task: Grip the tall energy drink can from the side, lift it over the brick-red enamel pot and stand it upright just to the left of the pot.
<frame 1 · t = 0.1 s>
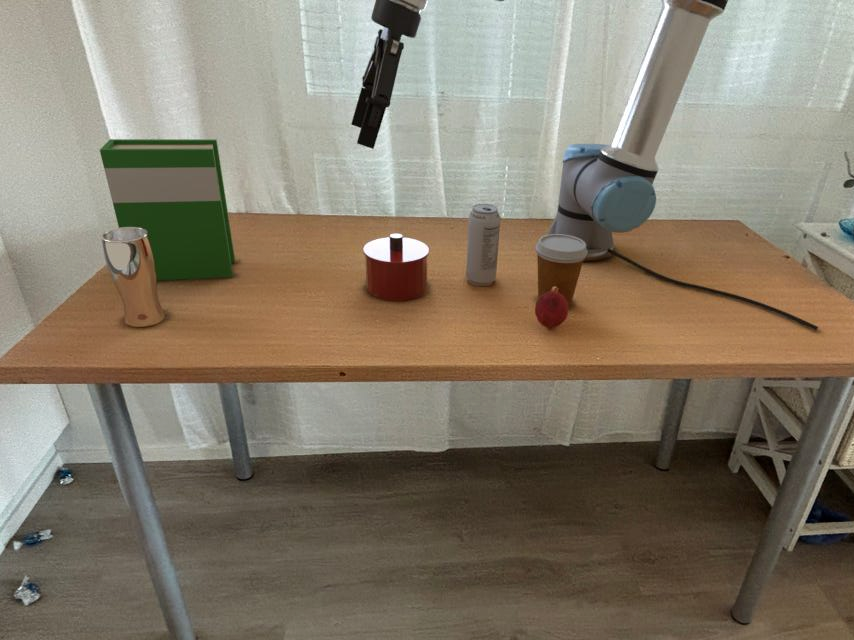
hand: (361, 136, 110), 28 cm above the table, tool tilted 20°, fingers open, 13 cm apart
disposable coffee cup: (554, 302, 123), on the table
energy drink can: (480, 281, 129), on the table
hardback book: (186, 272, 125), on the table
onion: (549, 329, 114), on the table
beer glass: (145, 319, 108), on the table
pot: (396, 287, 124), on the table
pot lid: (396, 251, 120), point 7 cm above the table, touching pot
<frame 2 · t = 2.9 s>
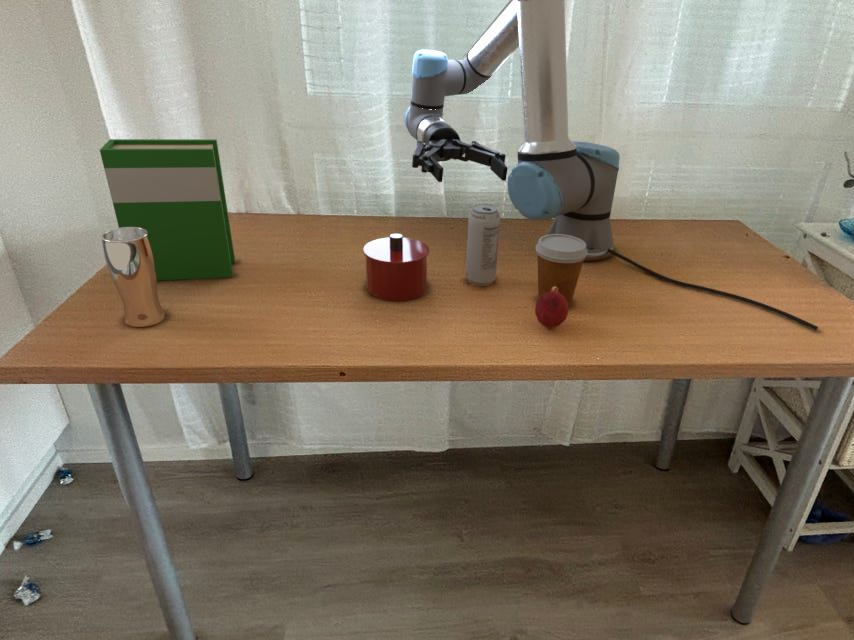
hand: (473, 174, 126), 19 cm above the table, tool horizontal, fingers open, 13 cm apart
nothing on the table moved.
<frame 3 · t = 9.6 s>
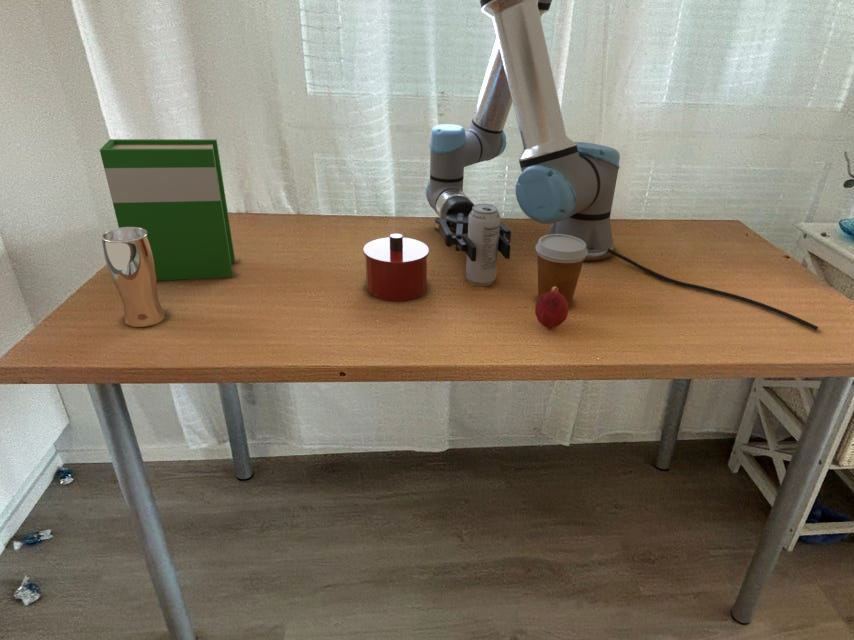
hand: (491, 253, 120), 8 cm above the table, tool horizontal, fingers closed on energy drink can, 6 cm apart
energy drink can: (480, 281, 129), on the table, touching gripper
everything else where it was.
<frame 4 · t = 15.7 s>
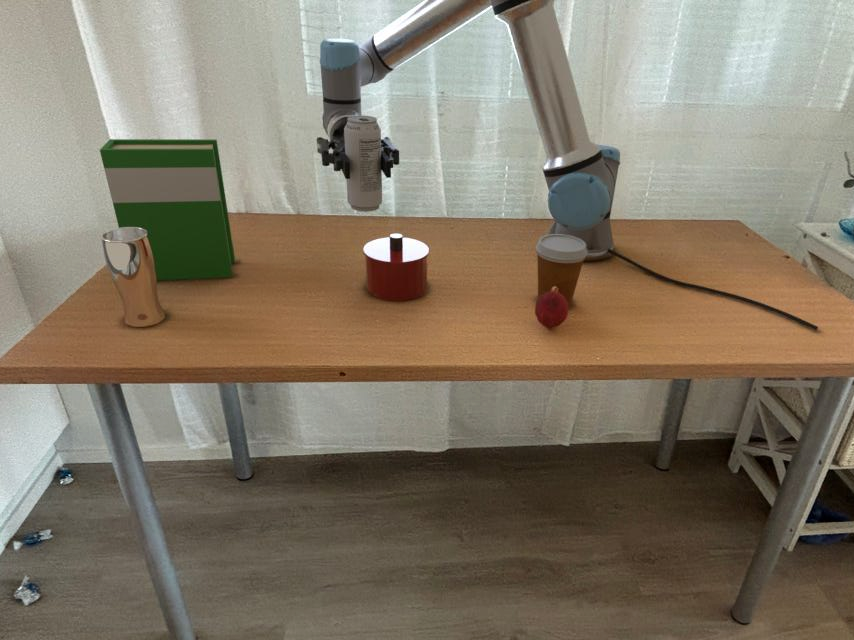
hand: (368, 170, 106), 24 cm above the table, tool horizontal, fingers closed on energy drink can, 6 cm apart
energy drink can: (365, 208, 114), point 16 cm above the table, touching gripper
everything else where it was.
when the fingers open (8 cm above the table, at t = 21.8 s): energy drink can stays where it is, on the table.
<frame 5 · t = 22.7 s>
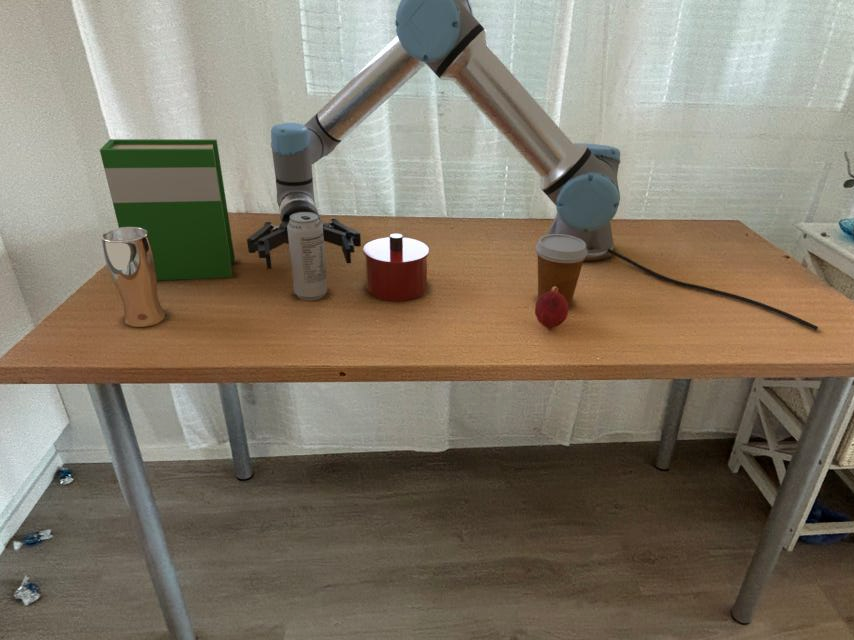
hand: (309, 259, 112), 8 cm above the table, tool horizontal, fingers open, 13 cm apart
energy drink can: (311, 295, 120), on the table
everything else where it was.
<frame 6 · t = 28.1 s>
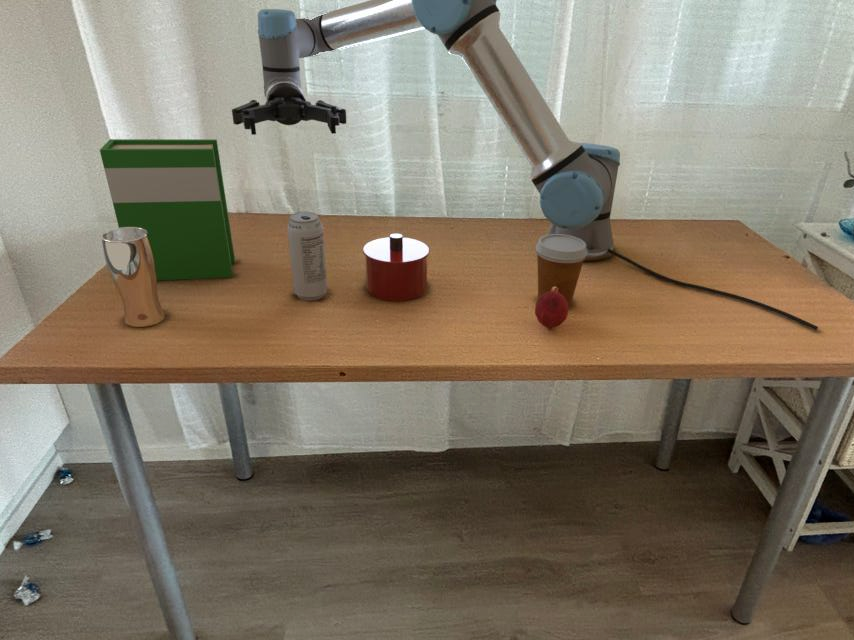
hand: (293, 126, 112), 28 cm above the table, tool horizontal, fingers open, 13 cm apart
nothing on the table moved.
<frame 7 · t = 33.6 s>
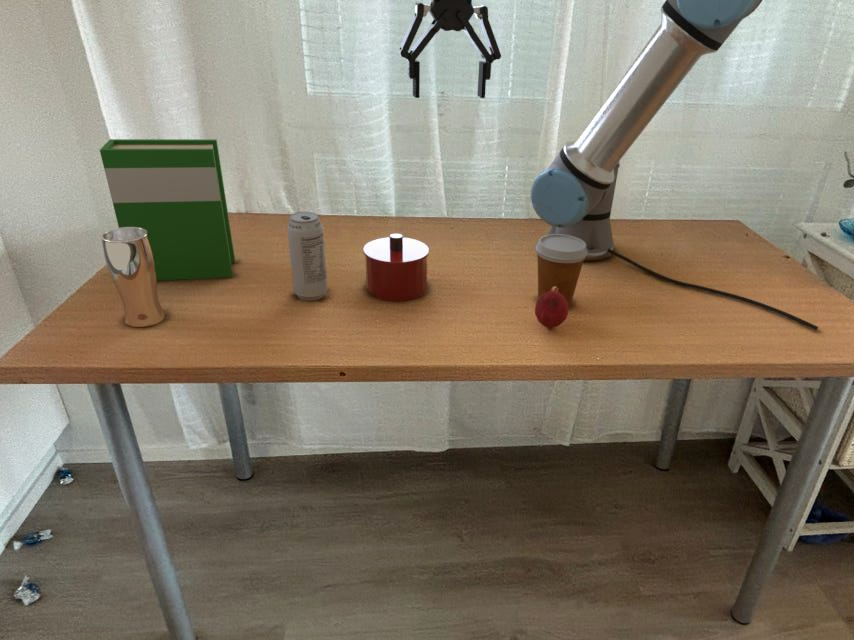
hand: (449, 96, 130), 31 cm above the table, tool pointing down, fingers open, 13 cm apart
nothing on the table moved.
at the end: energy drink can inside the target area on the table beside the pot (0.2 cm from its centre), on the table; energy drink can tilted 0°; the gripper is holding nothing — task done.
